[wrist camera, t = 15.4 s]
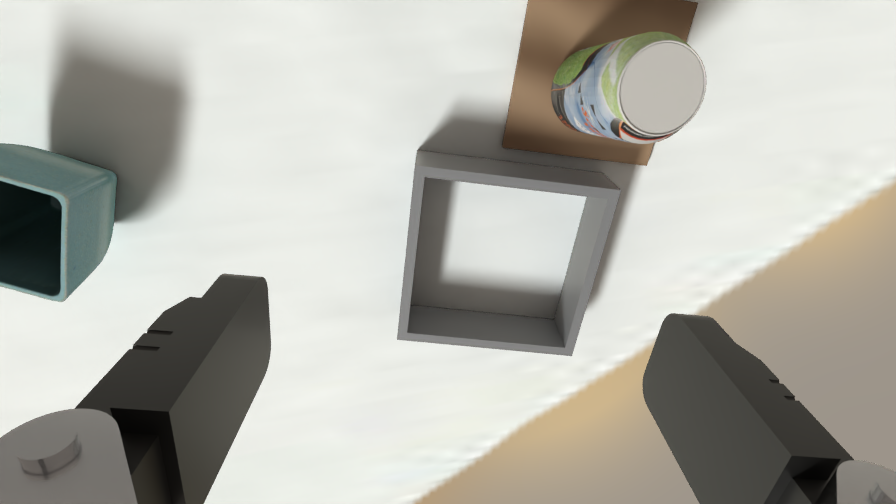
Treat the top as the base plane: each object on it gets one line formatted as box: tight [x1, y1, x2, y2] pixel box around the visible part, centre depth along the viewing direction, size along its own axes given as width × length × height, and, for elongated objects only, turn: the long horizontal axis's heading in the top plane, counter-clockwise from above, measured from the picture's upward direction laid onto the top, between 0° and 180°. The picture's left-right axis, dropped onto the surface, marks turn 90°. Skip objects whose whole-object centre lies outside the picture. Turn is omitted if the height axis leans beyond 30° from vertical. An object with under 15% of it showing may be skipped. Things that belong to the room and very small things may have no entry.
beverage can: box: [551, 32, 706, 144], centre depth 32 cm, size 6×7×12 cm
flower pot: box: [0, 144, 117, 302], centre depth 36 cm, size 9×9×9 cm
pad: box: [502, 0, 698, 166], centre depth 37 cm, size 12×12×1 cm
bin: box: [397, 150, 621, 356], centre depth 41 cm, size 16×16×4 cm
